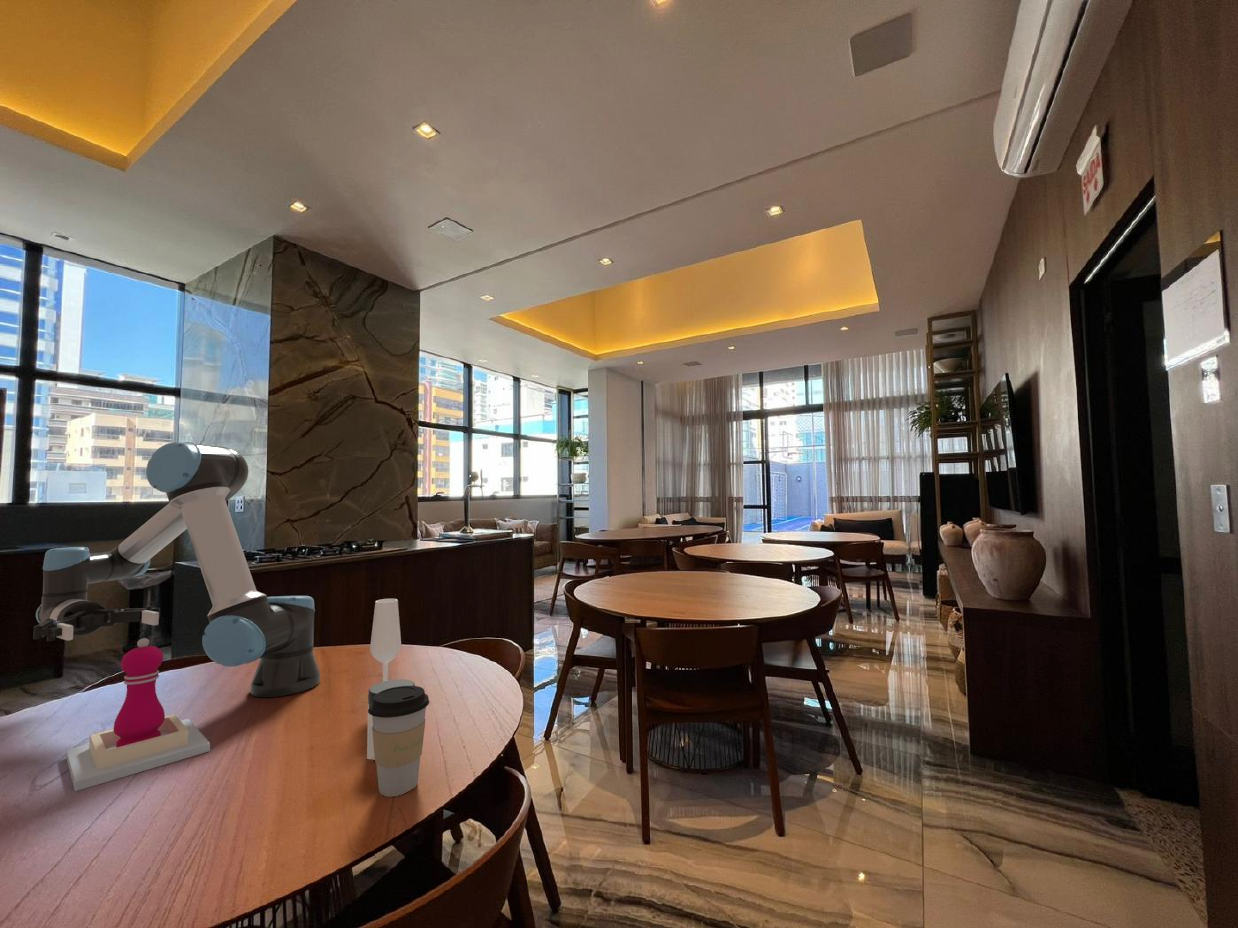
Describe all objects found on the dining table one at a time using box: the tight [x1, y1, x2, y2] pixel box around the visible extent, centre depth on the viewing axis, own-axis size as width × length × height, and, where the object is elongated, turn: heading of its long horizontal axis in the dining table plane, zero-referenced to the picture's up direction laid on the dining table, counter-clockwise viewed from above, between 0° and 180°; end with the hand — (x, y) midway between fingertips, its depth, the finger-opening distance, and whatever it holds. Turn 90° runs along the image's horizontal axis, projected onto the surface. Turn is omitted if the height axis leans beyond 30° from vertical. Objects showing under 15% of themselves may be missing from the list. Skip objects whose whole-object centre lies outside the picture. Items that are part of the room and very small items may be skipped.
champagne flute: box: [369, 598, 402, 682], centre depth 123 cm, size 7×7×24 cm
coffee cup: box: [367, 685, 430, 798], centre depth 88 cm, size 9×9×15 cm
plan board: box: [65, 714, 211, 792], centre depth 100 cm, size 18×18×4 cm
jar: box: [366, 678, 416, 759], centre depth 100 cm, size 9×8×12 cm
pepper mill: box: [113, 637, 166, 748], centre depth 101 cm, size 7×7×20 cm
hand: (115, 625), depth 111 cm, fingers open, 13 cm apart
